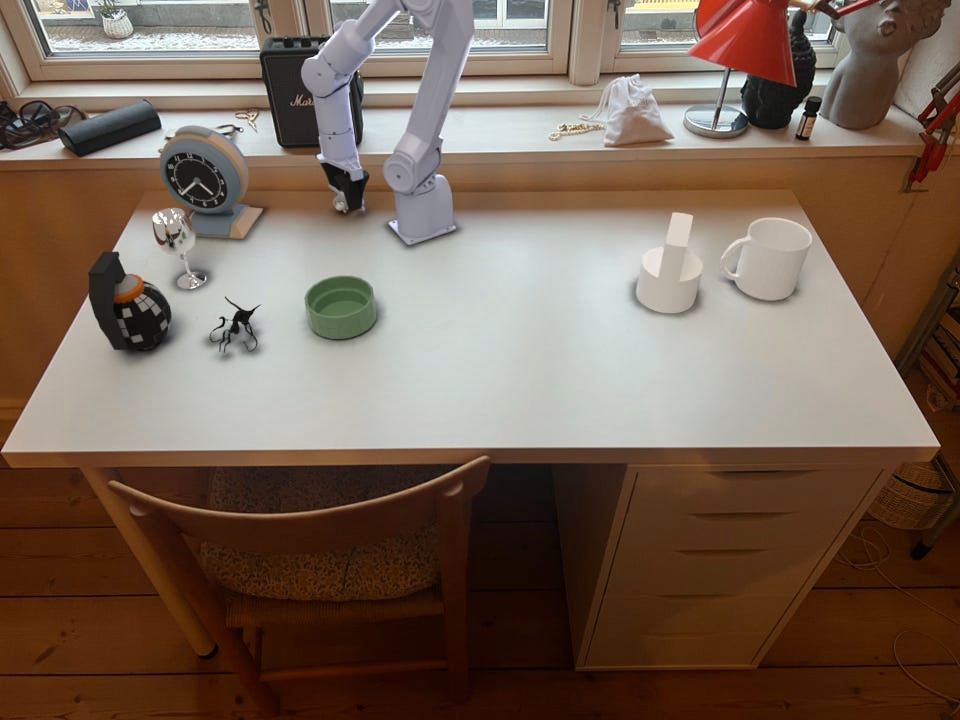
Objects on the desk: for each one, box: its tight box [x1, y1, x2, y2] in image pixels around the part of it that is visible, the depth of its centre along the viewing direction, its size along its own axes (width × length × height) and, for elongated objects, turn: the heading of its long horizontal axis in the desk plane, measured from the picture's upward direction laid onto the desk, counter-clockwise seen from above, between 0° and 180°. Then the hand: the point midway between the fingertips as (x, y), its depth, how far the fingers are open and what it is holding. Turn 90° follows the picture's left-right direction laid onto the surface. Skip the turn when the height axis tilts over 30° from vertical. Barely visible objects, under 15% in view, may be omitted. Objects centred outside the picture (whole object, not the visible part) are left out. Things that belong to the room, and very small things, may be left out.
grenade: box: [87, 251, 173, 352], centre depth 96 cm, size 11×10×15 cm
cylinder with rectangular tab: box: [635, 211, 704, 314], centre depth 105 cm, size 9×9×12 cm
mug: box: [719, 216, 813, 302], centre depth 108 cm, size 12×9×9 cm
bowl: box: [303, 274, 378, 340], centre depth 104 cm, size 10×10×4 cm
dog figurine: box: [327, 183, 366, 214], centre depth 126 cm, size 3×8×6 cm
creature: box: [209, 296, 263, 354], centre depth 101 cm, size 8×5×8 cm
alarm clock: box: [159, 124, 264, 240], centre depth 120 cm, size 14×10×18 cm
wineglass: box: [151, 207, 207, 290], centre depth 109 cm, size 6×6×12 cm
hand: (346, 199), depth 126 cm, fingers open, 7 cm apart
